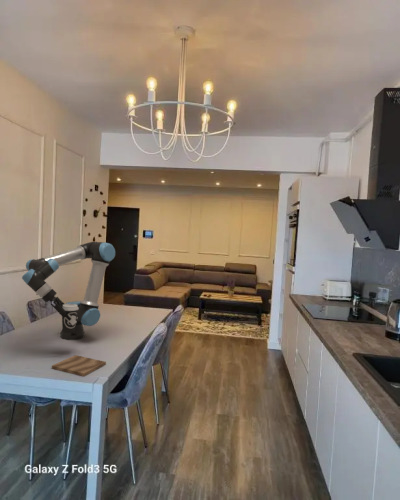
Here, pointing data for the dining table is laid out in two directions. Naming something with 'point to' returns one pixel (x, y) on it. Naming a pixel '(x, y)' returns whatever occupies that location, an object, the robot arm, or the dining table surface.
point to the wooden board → (78, 365)
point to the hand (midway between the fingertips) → (75, 321)
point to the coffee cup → (72, 311)
